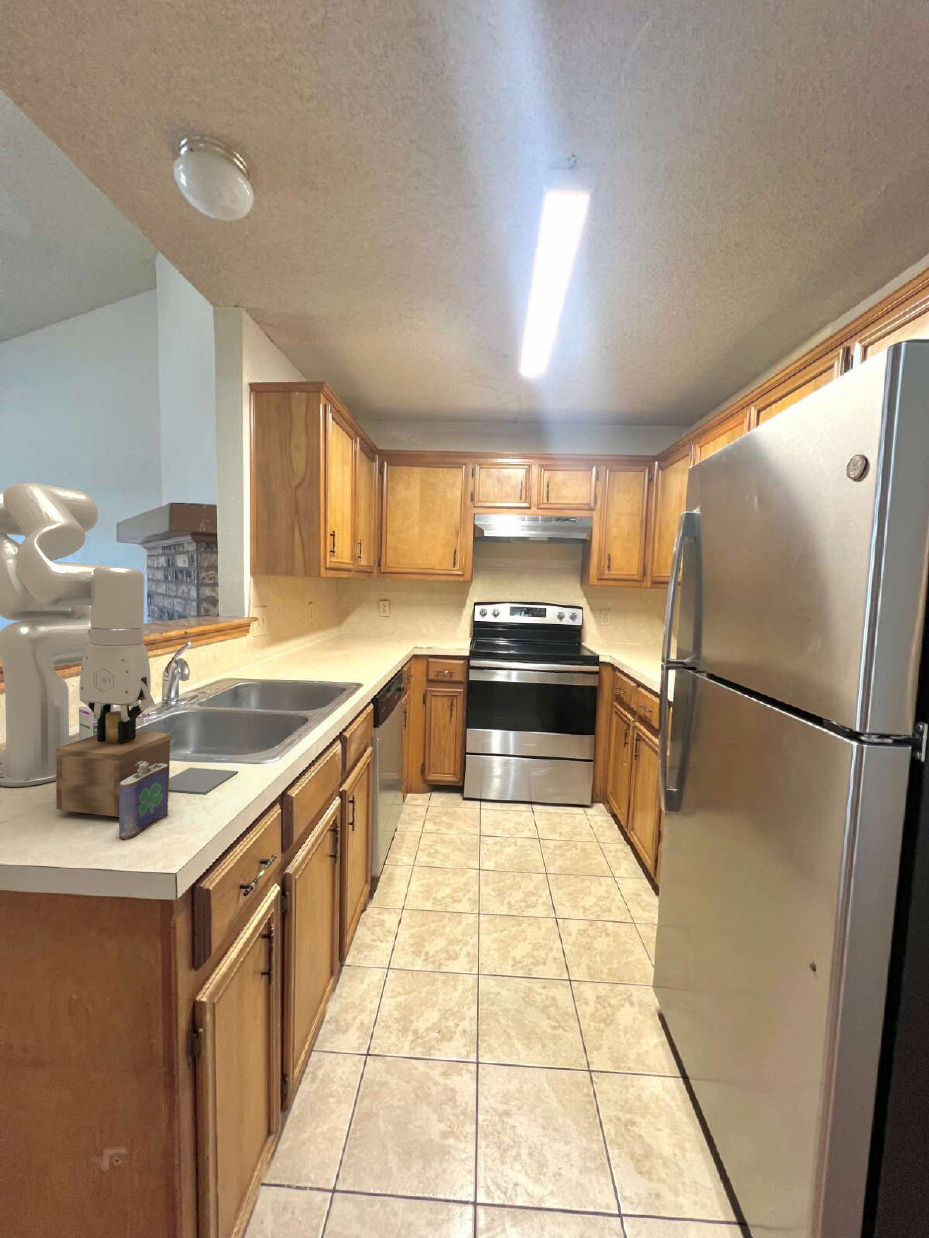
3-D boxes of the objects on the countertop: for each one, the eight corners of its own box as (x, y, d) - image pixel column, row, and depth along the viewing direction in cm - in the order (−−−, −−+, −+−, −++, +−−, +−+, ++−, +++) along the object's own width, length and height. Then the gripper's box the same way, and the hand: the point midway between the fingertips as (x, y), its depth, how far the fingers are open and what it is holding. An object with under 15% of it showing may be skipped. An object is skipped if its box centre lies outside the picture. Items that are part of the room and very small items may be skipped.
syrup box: (91, 781, 95) (90, 709, 94) (79, 774, 98) (78, 705, 97) (124, 772, 99) (123, 704, 99) (111, 766, 102) (110, 700, 102)
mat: (151, 790, 92) (151, 788, 92) (189, 769, 103) (189, 767, 102) (205, 794, 91) (205, 792, 91) (238, 772, 101) (238, 771, 101)
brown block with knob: (56, 809, 80) (56, 719, 79) (113, 782, 91) (113, 702, 90) (119, 816, 79) (120, 725, 78) (169, 787, 90) (170, 707, 89)
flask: (129, 840, 74) (128, 773, 73) (112, 839, 74) (111, 771, 73) (172, 813, 83) (172, 753, 82) (157, 812, 83) (157, 752, 82)
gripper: (54, 636, 80) (54, 743, 81) (145, 643, 79) (143, 751, 80) (93, 632, 88) (92, 730, 89) (176, 638, 86) (174, 737, 87)
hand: (116, 739), depth 84 cm, fingers closed on brown block with knob, 3 cm apart
